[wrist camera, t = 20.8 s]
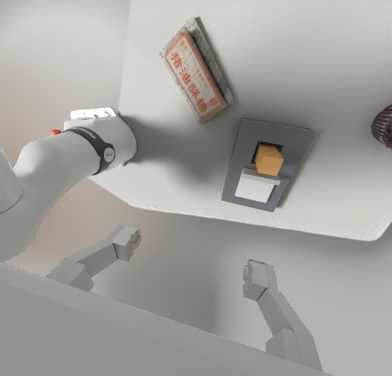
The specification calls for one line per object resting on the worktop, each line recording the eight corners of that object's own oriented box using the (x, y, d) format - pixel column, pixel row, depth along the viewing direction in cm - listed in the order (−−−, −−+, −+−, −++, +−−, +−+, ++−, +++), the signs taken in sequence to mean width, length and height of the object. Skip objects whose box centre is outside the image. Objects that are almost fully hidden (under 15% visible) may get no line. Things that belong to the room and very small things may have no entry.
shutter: (235, 194, 47) (234, 201, 44) (243, 167, 42) (243, 173, 39) (265, 201, 46) (267, 209, 43) (277, 174, 41) (280, 181, 38)
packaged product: (235, 102, 34) (197, 127, 39) (235, 101, 38) (201, 124, 42) (188, 6, 28) (151, 50, 33) (195, 17, 32) (160, 54, 36)
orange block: (254, 156, 43) (257, 172, 35) (259, 142, 41) (264, 155, 33) (269, 159, 43) (276, 176, 34) (274, 145, 41) (283, 159, 32)
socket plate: (222, 195, 52) (221, 200, 50) (241, 118, 39) (241, 120, 37) (271, 206, 50) (273, 212, 48) (309, 128, 37) (314, 131, 34)
